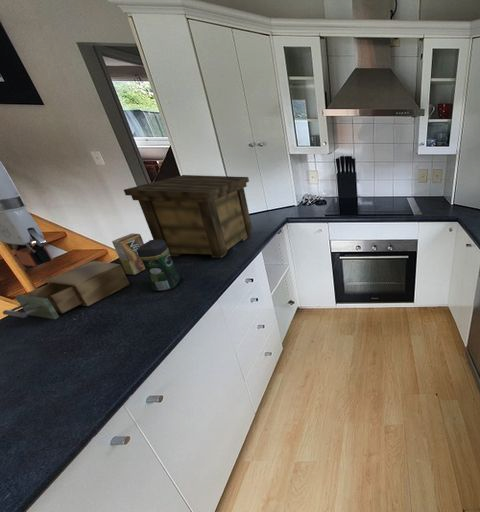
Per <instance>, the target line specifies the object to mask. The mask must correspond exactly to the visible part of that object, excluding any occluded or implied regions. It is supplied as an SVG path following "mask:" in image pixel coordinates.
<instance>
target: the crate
mask: <svg viewBox="0 0 480 512" xmlns="http://www.w3.org/2000/svg"><path fill="white" fill-rule="evenodd" d="M249 182H250V179H249V176H225V175H196V174H195V175H194V174H181V175H176V176H174V177H169V178H166V179H162V180H157V181H153V182H149V183H144V184H141V185H137V186H133V187H129V188H125V189H123V193H124V194H125V196H130V197H131V199H132V201H137V202H138V203H139V206H140V209H141V211H142V214H143V217H144V219H145V222H146V224H147V227H148V229H149V232H150V235H151V237H152V240H160V239H161V240H163V241H165V242H166V244H167V246H168V249H169V253H170V256H171V257H180V256H182V255H184V254H188V255H189V254H191V255H210V256H211V259H222V258H223V257H225V256H226V255H227V253H228V250H229V249H231V248H232V247H233V246H235V245H236V244H238V243H239V242H244V241H246V240H247V239H248V236H251V235H252V234H253V233H254V231H253V226H252V222H251V215H250V211H249V207H248V203H247V196H246V192H245V188H247V187H248V184H247V183H249Z"/></svg>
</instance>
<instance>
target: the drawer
mask: <svg viewBox="0 0 480 512" xmlns="http://www.w3.org/2000/svg"><path fill="white" fill-rule="evenodd" d="M47 295H48V296H47ZM14 298H15V300H16V301H17V303H19V305H18V306H16V307H14V308H11V309H5V310H3V311H2V315H5V316H11V317H16V318H22V319H23V318H26V317H27V316H33V317H39V318H45V319H51V320H57V319H58V318H60V315H59V314H65V313H66V312H68V311H70V310H72V309H74V308H77V307H78V306H81V305H80V304H82V303H84V301H83V300H82V298H81V296H80V294H79V293H78V291H77V289H76V287H75V286H72V285H65V284H58V283H50V284H48V283H47V284H45V285H42V286H40V287H38V288H35V289H33V290H31V291H27V294H20V293H19V294H16V295H14ZM21 308H22V309H23V310H24V312H23V311H17V310H19V309H21Z"/></svg>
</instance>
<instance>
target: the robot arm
mask: <svg viewBox="0 0 480 512" xmlns="http://www.w3.org/2000/svg"><path fill="white" fill-rule="evenodd" d="M27 207H28V206H27V204H26V202H25V201H24V199H23V197H22V196H21V194H20V192H19V190H18V189H17V187H16V184H15V183H14V181H13V180H12V178H11V176H10V175H9V172H8V171H7V169H6V167H5V166H4V164H3V162H2V161H0V242H1V243H5V244H9V245H11V247H12V249H13V250H14V252H15V251H17V250H21V249H24V248H27V247H28V248H29V250H30V251H31V252H32V253H30V254H31V256H32V257H33V259H34V261H35V262H36V264H38V265H37V266H39V265H42V264H45V263H49V262H51V261H52V260H51V258H50V257H49V255H48V253H47V251H46V250H45V249H47V247H46V244H47V241H46V240H45V236H44V234H43V232H42V230H41V229H40V227H39V225H38V223H37V222H36V220H35V219H34V217H33V216H32V215H31V213H30V212H29V210H28V209H27ZM31 240H33V241H31ZM33 246H34V247H33ZM45 247H46V248H45Z"/></svg>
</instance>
